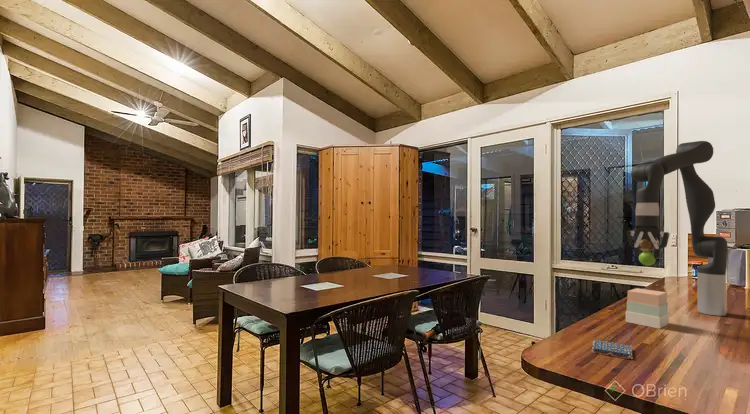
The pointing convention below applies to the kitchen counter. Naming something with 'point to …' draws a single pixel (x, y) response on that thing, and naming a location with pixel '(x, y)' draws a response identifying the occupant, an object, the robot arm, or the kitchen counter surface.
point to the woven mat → (612, 349)
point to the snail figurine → (647, 252)
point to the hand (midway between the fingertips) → (647, 257)
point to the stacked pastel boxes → (647, 308)
